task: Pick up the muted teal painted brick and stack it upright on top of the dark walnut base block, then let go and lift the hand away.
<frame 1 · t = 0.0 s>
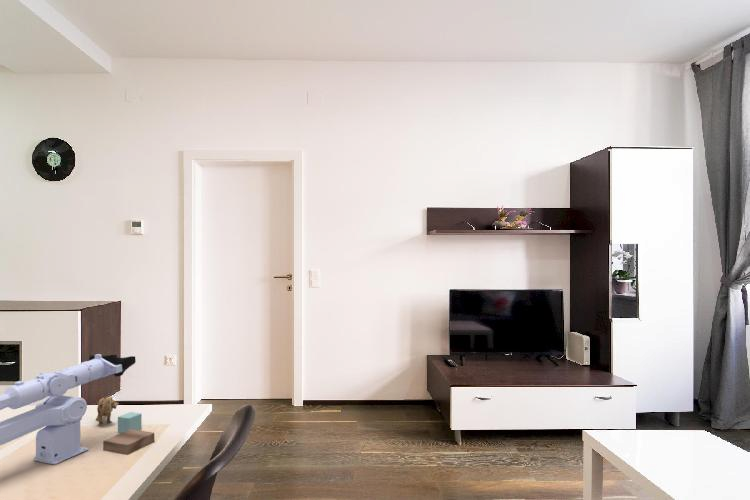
hand: (125, 358, 140), 22 cm above the table, tool horizontal, fingers open, 7 cm apart
teal brick: (129, 431, 137), on the table
lion figurine: (105, 421, 146), on the table
walnut base block: (129, 445, 127), on the table
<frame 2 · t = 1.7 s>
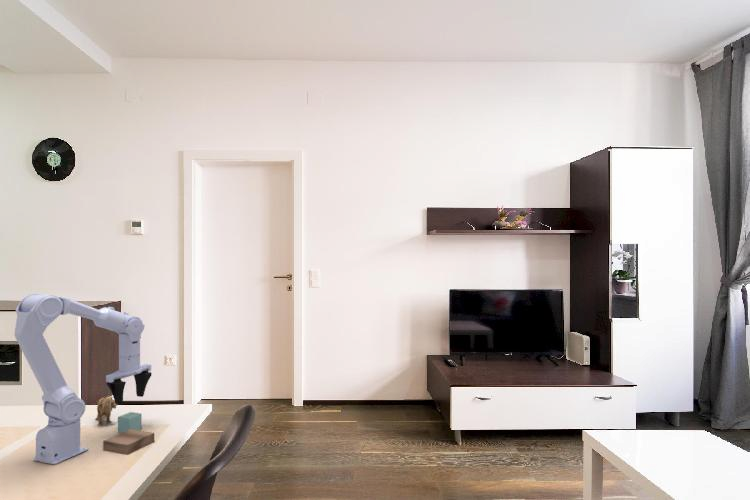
hand: (129, 399, 138), 10 cm above the table, tool pointing down, fingers open, 7 cm apart
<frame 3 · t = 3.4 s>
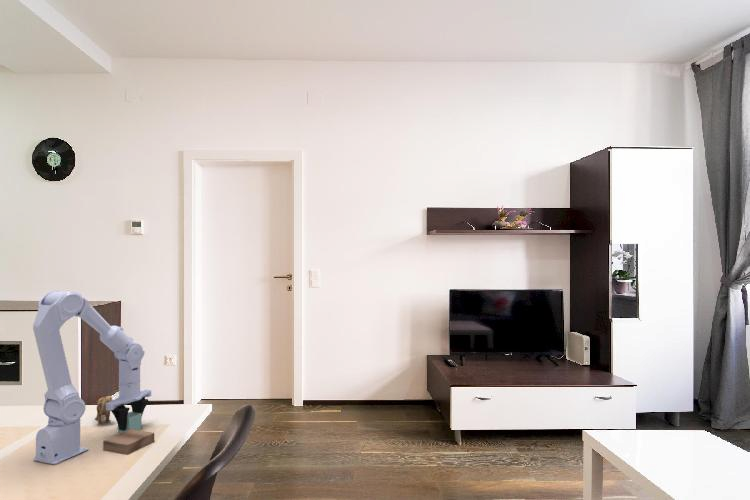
hand: (129, 426, 137), 1 cm above the table, tool pointing down, fingers closed on teal brick, 4 cm apart
teal brick: (129, 431, 137), on the table, touching gripper
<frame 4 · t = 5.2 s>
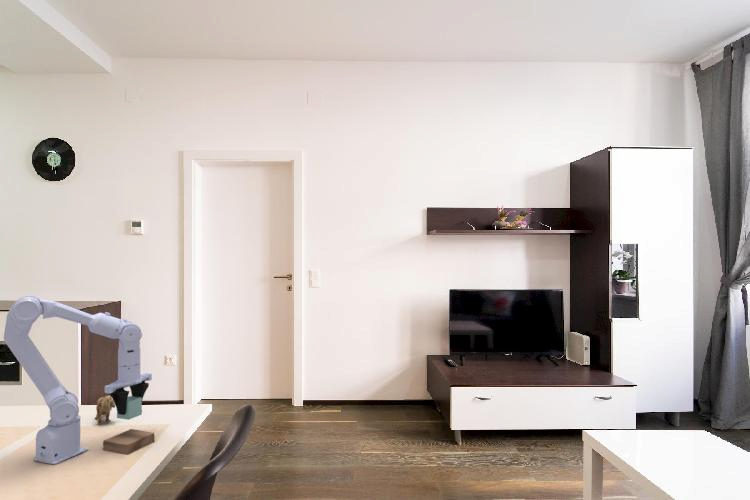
hand: (129, 411, 131), 8 cm above the table, tool pointing down, fingers closed on teal brick, 4 cm apart
teal brick: (129, 416, 131), point 7 cm above the table, touching gripper
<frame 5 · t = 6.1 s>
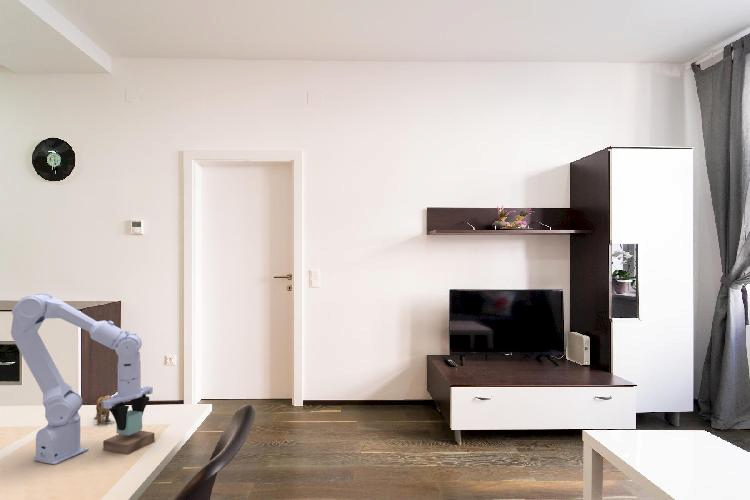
hand: (129, 426, 127), 5 cm above the table, tool pointing down, fingers closed on teal brick, 4 cm apart
teal brick: (129, 431, 127), point 4 cm above the table, touching gripper
when the fingers open (5 cm above the table, at t = 6.9 s): teal brick drops 1 cm, resting on walnut base block.
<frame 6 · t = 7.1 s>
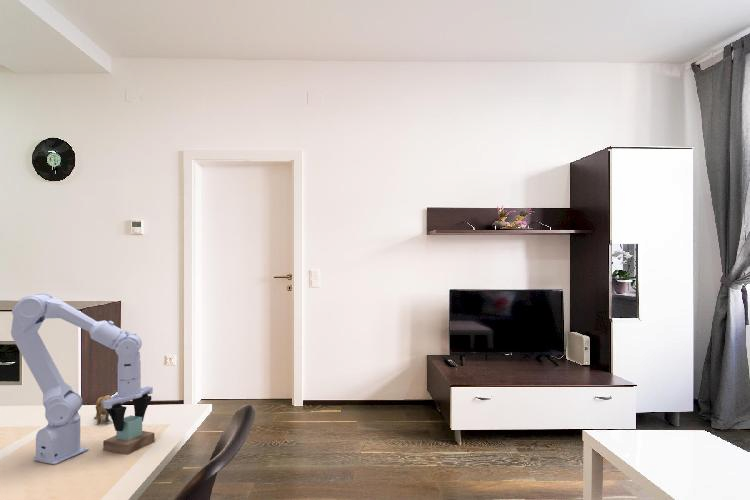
hand: (129, 426, 127), 5 cm above the table, tool pointing down, fingers open, 6 cm apart
teal brick: (129, 436, 127), point 2 cm above the table, touching walnut base block
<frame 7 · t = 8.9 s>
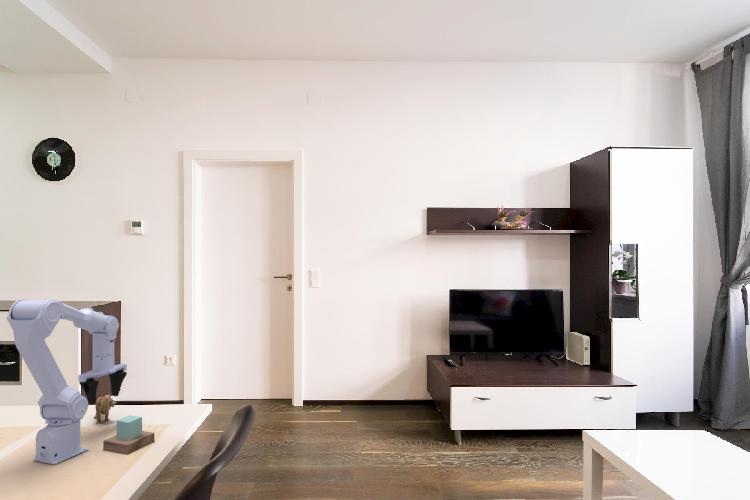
hand: (103, 399, 137), 10 cm above the table, tool pointing down, fingers open, 7 cm apart
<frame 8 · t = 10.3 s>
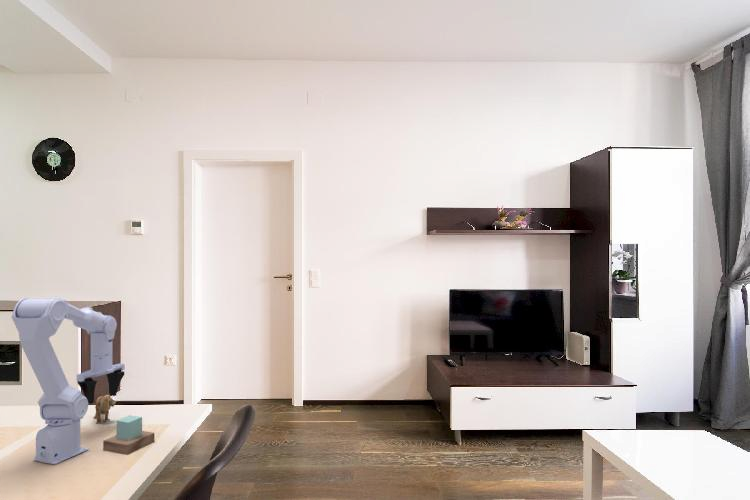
hand: (101, 399, 138), 10 cm above the table, tool pointing down, fingers open, 7 cm apart
at the end: teal brick 0.0 cm off-centre on the walnut base block, point 2.5 cm above the walnut base block's base; teal brick tilted 0°; the gripper is holding nothing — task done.
